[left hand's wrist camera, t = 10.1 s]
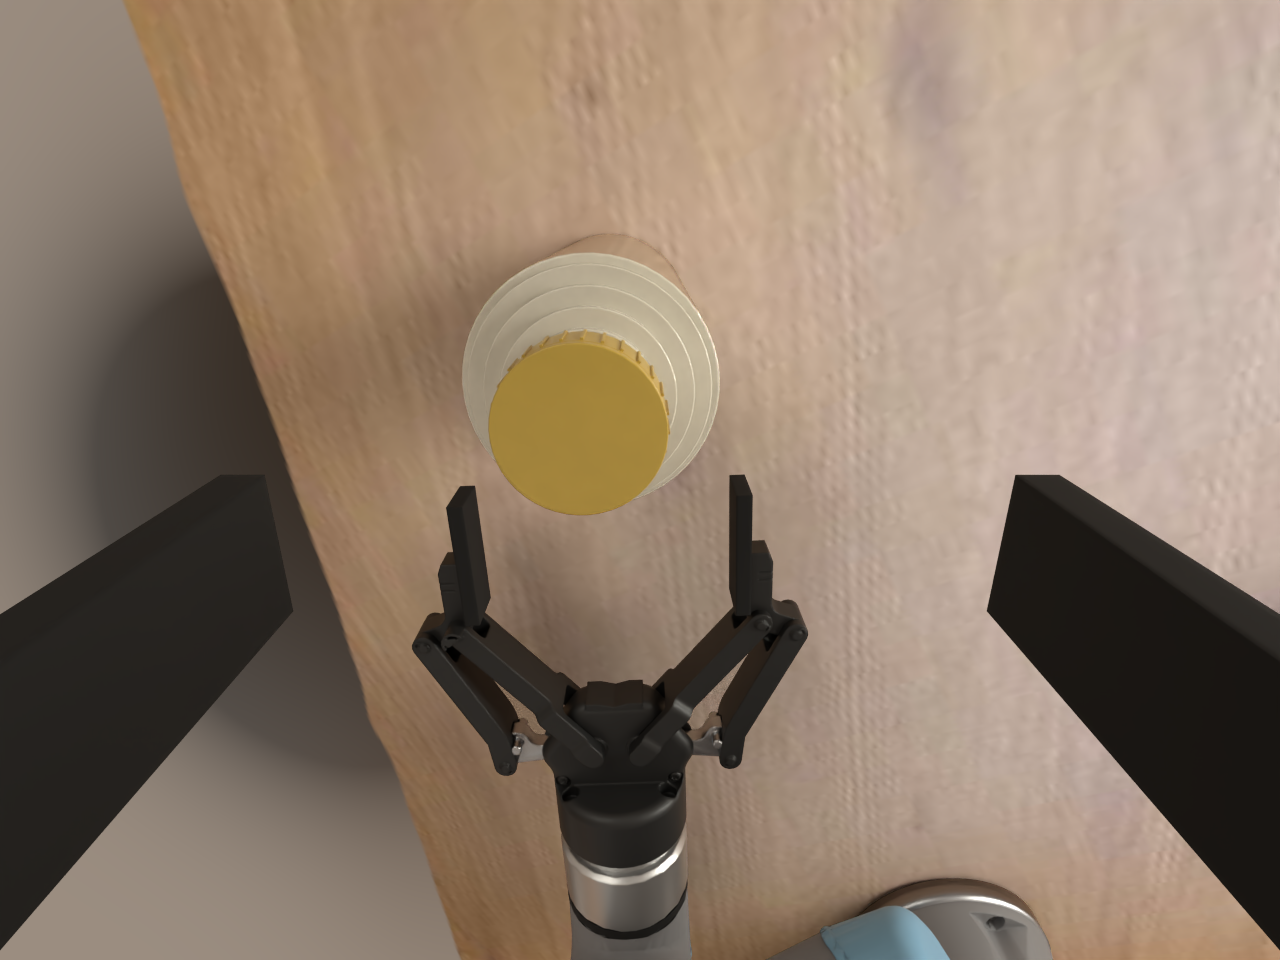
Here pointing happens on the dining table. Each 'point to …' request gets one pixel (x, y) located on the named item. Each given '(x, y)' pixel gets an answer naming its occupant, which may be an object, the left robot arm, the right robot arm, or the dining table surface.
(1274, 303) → the dining table surface
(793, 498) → the dining table surface
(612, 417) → the cap
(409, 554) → the dining table surface
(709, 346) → the bottle
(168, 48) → the dining table surface
